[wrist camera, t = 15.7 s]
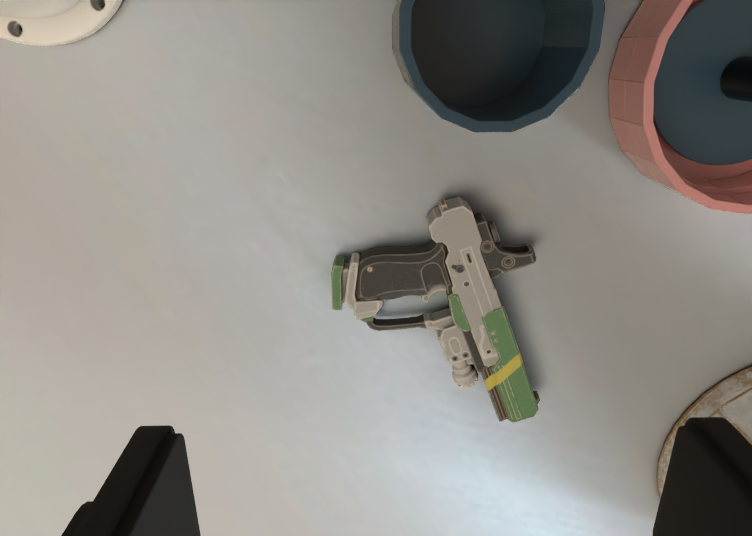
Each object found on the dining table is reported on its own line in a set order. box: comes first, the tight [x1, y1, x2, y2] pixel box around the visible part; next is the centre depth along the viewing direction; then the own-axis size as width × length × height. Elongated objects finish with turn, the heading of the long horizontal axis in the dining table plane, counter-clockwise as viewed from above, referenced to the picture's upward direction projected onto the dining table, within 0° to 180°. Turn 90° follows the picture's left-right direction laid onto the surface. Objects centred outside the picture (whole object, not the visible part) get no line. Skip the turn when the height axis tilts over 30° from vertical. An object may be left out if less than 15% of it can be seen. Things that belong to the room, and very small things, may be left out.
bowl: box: [609, 0, 752, 214], centre depth 34 cm, size 16×16×6 cm
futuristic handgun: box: [331, 197, 540, 422], centre depth 42 cm, size 3×19×15 cm
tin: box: [392, 0, 605, 132], centre depth 32 cm, size 10×10×8 cm
